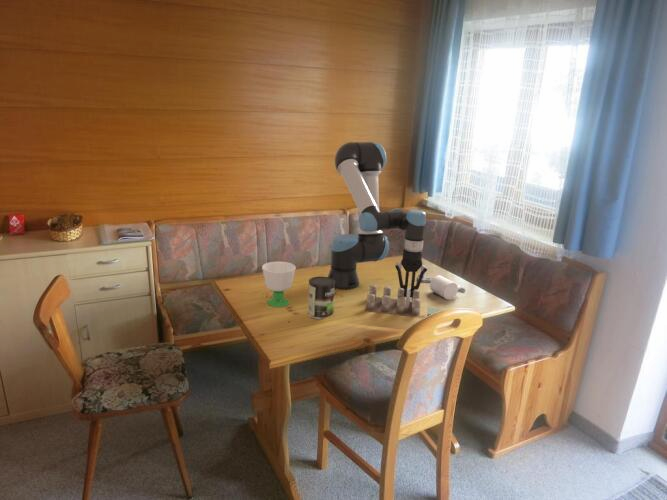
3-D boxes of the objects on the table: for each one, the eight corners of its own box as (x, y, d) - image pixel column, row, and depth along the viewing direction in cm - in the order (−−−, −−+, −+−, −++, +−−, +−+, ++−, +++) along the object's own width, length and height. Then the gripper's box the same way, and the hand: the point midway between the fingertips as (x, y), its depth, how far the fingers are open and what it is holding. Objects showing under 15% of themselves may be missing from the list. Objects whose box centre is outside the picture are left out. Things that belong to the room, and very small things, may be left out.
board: (364, 313, 195) (365, 297, 193) (368, 298, 210) (369, 283, 208) (419, 319, 192) (421, 303, 190) (419, 303, 207) (421, 288, 205)
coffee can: (338, 313, 194) (340, 280, 190) (324, 322, 186) (326, 287, 182) (317, 306, 199) (318, 274, 195) (302, 314, 191) (303, 281, 187)
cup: (281, 293, 210) (281, 259, 205) (301, 303, 201) (302, 268, 196) (254, 301, 201) (255, 265, 196) (275, 312, 192) (275, 275, 187)
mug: (442, 300, 212) (445, 283, 209) (428, 292, 220) (430, 276, 218) (463, 297, 217) (466, 280, 215) (449, 289, 225) (451, 273, 223)
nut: (408, 310, 197) (409, 302, 196) (409, 305, 202) (409, 297, 201) (419, 311, 197) (420, 303, 196) (419, 306, 202) (420, 298, 200)
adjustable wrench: (466, 292, 224) (466, 288, 224) (459, 295, 220) (459, 292, 219) (421, 276, 240) (421, 273, 240) (413, 279, 236) (413, 276, 235)
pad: (420, 315, 196) (421, 313, 196) (420, 308, 203) (420, 306, 202) (440, 317, 195) (441, 315, 195) (440, 310, 202) (440, 308, 201)
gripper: (396, 250, 190) (391, 306, 197) (429, 253, 188) (423, 309, 195) (397, 245, 197) (392, 299, 204) (429, 248, 195) (423, 302, 202)
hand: (407, 304), depth 199 cm, fingers closed
